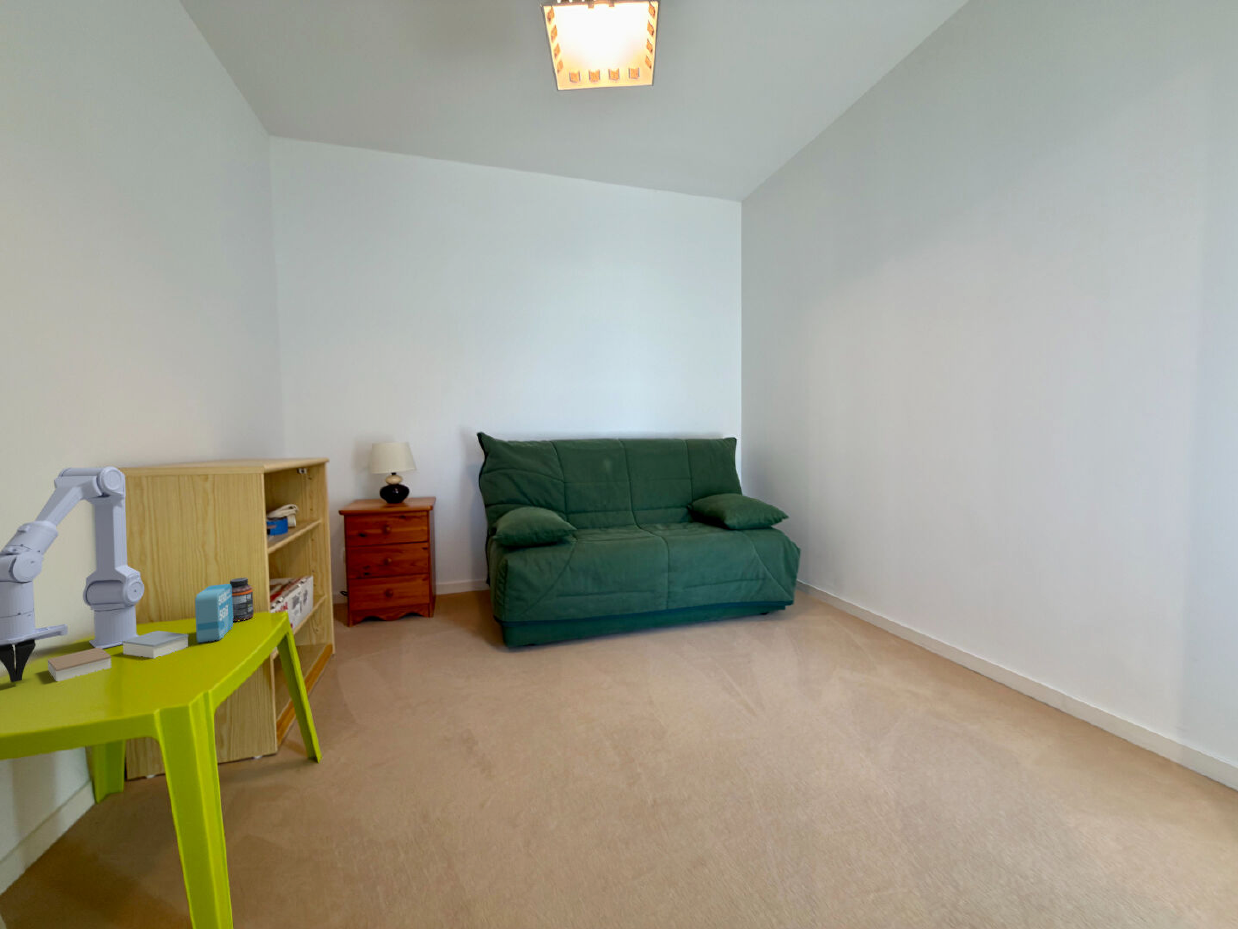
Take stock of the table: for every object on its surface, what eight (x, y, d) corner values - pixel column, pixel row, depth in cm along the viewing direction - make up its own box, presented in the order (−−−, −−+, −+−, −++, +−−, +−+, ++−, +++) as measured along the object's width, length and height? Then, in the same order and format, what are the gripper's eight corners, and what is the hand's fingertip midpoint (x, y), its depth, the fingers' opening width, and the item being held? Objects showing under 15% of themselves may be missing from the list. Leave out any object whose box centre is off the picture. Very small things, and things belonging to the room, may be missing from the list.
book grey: (122, 655, 118) (122, 641, 118) (157, 644, 125) (157, 630, 124) (154, 660, 115) (154, 645, 115) (189, 648, 121) (188, 634, 121)
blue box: (219, 641, 124) (217, 593, 124) (196, 645, 123) (194, 595, 122) (233, 626, 135) (231, 582, 135) (212, 629, 134) (210, 584, 133)
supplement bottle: (230, 617, 143) (229, 578, 143) (256, 614, 146) (254, 575, 145) (224, 624, 138) (222, 582, 138) (250, 620, 140) (248, 580, 140)
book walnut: (48, 673, 109) (47, 659, 109) (100, 660, 116) (99, 647, 115) (57, 684, 103) (56, 669, 103) (111, 669, 110) (110, 656, 110)
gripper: (-46, 627, 94) (-42, 700, 94) (69, 607, 105) (72, 671, 106) (-48, 621, 98) (-44, 690, 98) (63, 602, 110) (66, 664, 110)
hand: (16, 680), depth 102 cm, fingers closed
